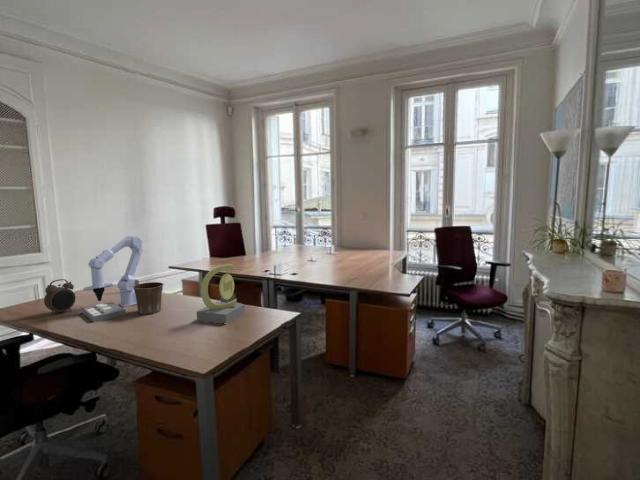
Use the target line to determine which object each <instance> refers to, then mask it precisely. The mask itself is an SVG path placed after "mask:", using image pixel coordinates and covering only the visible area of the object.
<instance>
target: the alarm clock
mask: <svg viewBox="0 0 640 480" xmlns="http://www.w3.org/2000/svg"><path fill="white" fill-rule="evenodd" d="M58 281H65V283H63V284H57V286H56V285H54V284H53V283H55V282H58ZM74 287H75V285H74V284H72V281H67V279H64V278H61V279H54V280H52V281H51V282H50V283H49V284H47V287H46V288H45V289H44V291H45V293H46V294H45V296H44V299H43V303H44V306H45V307H46V308H47V309H48V310H50V311H51V312H50V313H51V314H53V316H55V315H56V313H63V312H66V311H68V310H69V311H70V312H72V309H71V308H72V307H73V306H74V305H75V303H76V299H77V298H76V294H75V292H74V291H73V290H74Z"/></svg>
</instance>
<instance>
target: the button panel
mask: <svg viewBox="0 0 640 480" xmlns="http://www.w3.org/2000/svg"><path fill="white" fill-rule="evenodd" d="M103 304H104V305H105V304H106V305H108V307H111V308H112V312H108V313H103V311H102V310H101V311H100V310H99V308H96V307H95V305H89V306H87V307H86V306H85V307H81V313H82V314H83V315H85V316H86V317H87V318H88V319H89V320H91V322H93V323H97V322H101V321H105V320H111V319H114V318H118V317H124V316H126V315H127V311H126V309H125V308H124V307H122V306H121V305H119V304H116V303H114V302H113V301H110V302H107V303H105V302H104V303H103Z"/></svg>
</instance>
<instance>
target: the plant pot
mask: <svg viewBox="0 0 640 480" xmlns="http://www.w3.org/2000/svg"><path fill="white" fill-rule="evenodd" d="M133 288H134V289H133V290H134V292H135V294H136V300H137V304H136V306H137V312H138V314H140V315H150V314H152V315H153V314H156V313H157V314H158V313H160V312H161V310H162V294H163V289H164V283H163V282H158V281H156V282H155V281H153V282H151V281H150V282H149V281H148V282H143V283H138V284H136V285H135V286H133Z"/></svg>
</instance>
